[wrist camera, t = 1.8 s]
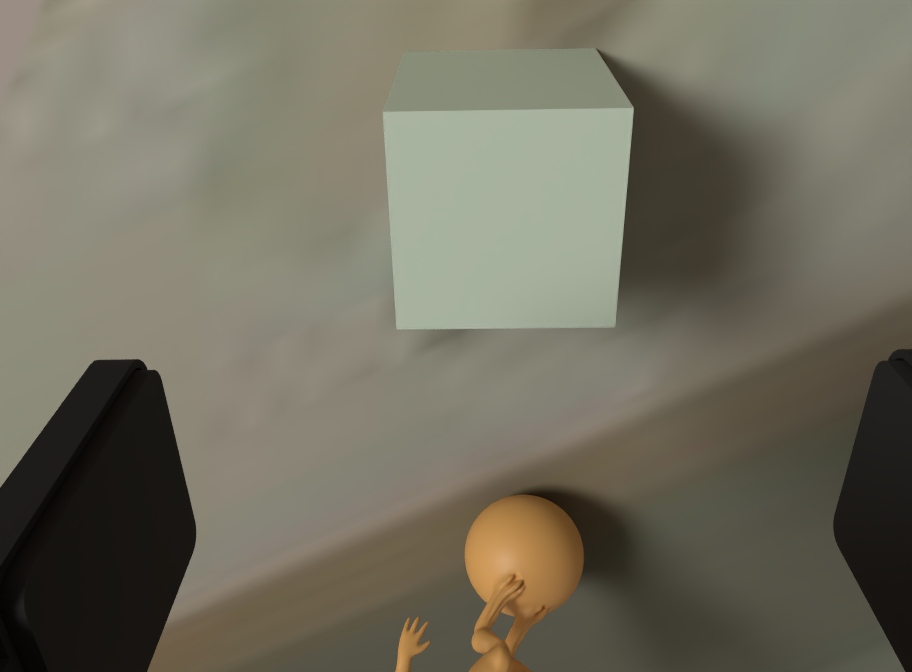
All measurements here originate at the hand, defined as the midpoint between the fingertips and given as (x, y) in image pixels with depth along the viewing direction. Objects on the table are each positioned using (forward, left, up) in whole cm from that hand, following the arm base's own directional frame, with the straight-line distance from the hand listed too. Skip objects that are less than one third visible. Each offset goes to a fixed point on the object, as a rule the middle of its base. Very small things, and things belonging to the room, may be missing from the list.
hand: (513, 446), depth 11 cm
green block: (0, 0, -14) cm, 14 cm away
